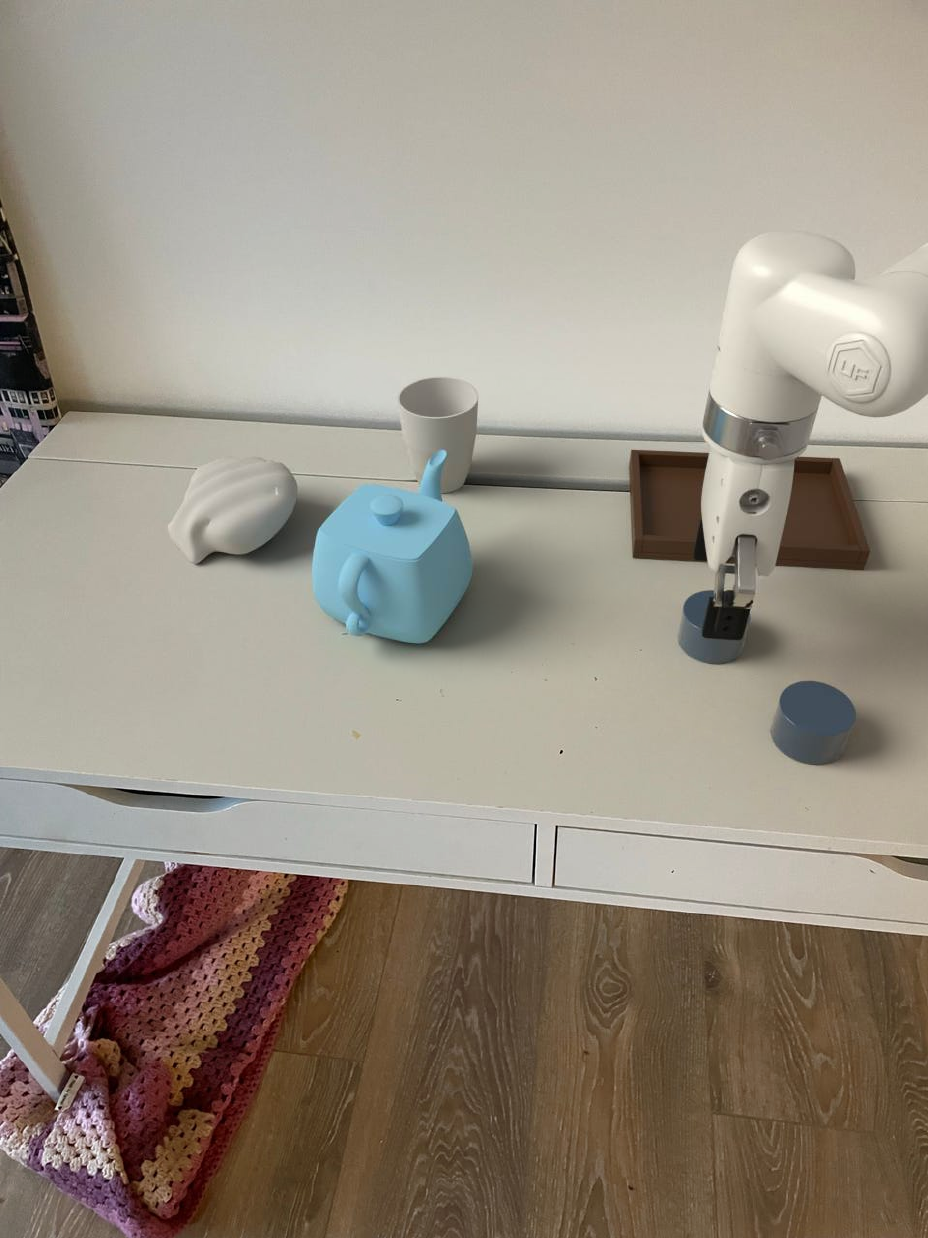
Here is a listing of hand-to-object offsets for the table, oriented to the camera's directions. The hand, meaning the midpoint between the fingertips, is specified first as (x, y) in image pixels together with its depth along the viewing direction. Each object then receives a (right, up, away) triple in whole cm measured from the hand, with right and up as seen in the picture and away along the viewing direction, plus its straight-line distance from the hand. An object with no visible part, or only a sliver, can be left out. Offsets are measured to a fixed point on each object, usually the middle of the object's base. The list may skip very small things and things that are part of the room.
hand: (716, 596), depth 79 cm
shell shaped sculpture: (-44, +7, +16) cm, 47 cm away
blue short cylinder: (0, -4, +3) cm, 5 cm away
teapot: (-27, 0, +9) cm, 28 cm away
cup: (-24, +13, +22) cm, 35 cm away
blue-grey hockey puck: (+6, -11, -5) cm, 14 cm away
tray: (+7, +9, +16) cm, 20 cm away
